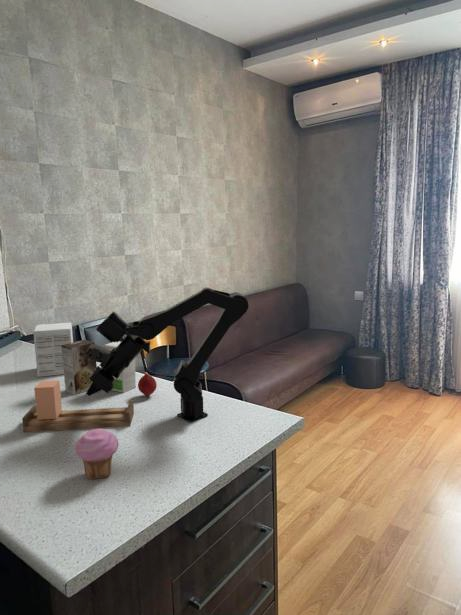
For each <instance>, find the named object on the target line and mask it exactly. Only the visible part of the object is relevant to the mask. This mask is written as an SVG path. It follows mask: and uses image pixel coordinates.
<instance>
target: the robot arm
mask: <svg viewBox="0 0 461 615" xmlns="http://www.w3.org/2000/svg"><path fill="white" fill-rule="evenodd" d="M208 304H209V305H213V306H215V307H218V308H221V310H220V313H219V315H218V317H217V319H216V321H215V322H214V324H213V326H212V327H211V329H209V331H208V333H207V334H206V336H205V337H204V339H203V340H202V341H201V343H200V344H199V346H198V348H197V349H196V350H195V352H194V353H193V355H192V356H191V357H190V359H188V360H187V361H185V360H184V359H181V361H180V363H179V365H178V366H177V368H175V369H174V372H173V373H174V375H173V388H174V390H175V391H176V393H178V394H180V412H179V413H177V414H176V416H177V417H178V418H181V419H183V420H186V421H188V422H190V423H192V422H195V421H197V420H200V419H202V418H205V417H207V416H208V415H209V414H208V412H205V411H204V397H203V388H202V382H200V381H199V377H200V374H201V372H202V369H203V367H204V366H205V364H206V363H207V362H208V360H209V359H210V357H211V355H212V354H213V352H214V351H215V350H216V349H217V347H218V345H219V344H220V343H221V341H222V339H223V338H224V337H225V335H226V334H227V332H228V331H229V329H230V328H231V327H232V326H233V325H234V324H236V323H237V322H238V321H239V320H240V319H242V317H243V316H244V315H245V314H246V313H247V312H248V309H249V301H248V299H247V298H246V296H244V295H243V294H242V293H240V292H237V291H234V292H231V293H228V292H225V291H220V290H217V289H213V288H211V287H203V288H202V289H201V290H200V291H198V292H195V294H192V295H191V296H189V297H186V299H183V300H182V301H180V302H178V303H176V304H174V305H173V306H171V307H169V308H167V309H165V310H162V311H158V312H154V313H151V314H148V315H145V316H143V317H142V318H140V320H135V321H131V322H128V323H127V322H126V321H125V320H123V318H121V316H119V315H118V314H117V313H116V311H112V312H111V313H110V314H109V315H108V317H106V318H105V319H104V320H102V322H101V323H100V324H99V325H98V326H97V327H96V329H95V330H96V331H97V332H98V334H100V335H101V336H103V337H104V338H105V339H107V341H109V343H112V342H114V343H115V342H118V341H120V340H121V339H122V340H121V341H120V342H121V343H120V344H119V345H118V346H117V347H116V348H113V349H112V350H111V351H110V350H108V349H106V348H104V347H103V346H101V345H98V344H91V345H90V346H89V347H88V350H87V352H86V355H85V358H86V359H91V360H93V361H96V363H100V364H99V365H98V366H97V368H96V371H94V372H93V374H92V375H91V377H90V380H91V381H92V382H93V383H92V384H91V386H90V387H89V389H88V391H85V392H86V393H85V394H86V396H88V397H90V396H91V395H94V394H96V393H99V392H102V391H103V392H105V393H106V394H109V393H110V392H111V391H113V390H112V389H113V387H114V385H115V379H114V377H115V378H116V379H117V378H118V377H119V376H120V374H121V372H122V371H123V370H124V369H125V368H127V367H128V366H129V365H130V363H131V362H132V360H133V359H134V358H135V359H136V358H137V356H138V355H139V354H140V353H141V351H145V352H146V353H147V354H150V352H151V340H153V339H155V338H156V337H158V336H159V335H160V334H161V333H163V331H165V330H166V329H167V328H168V327H170V325H171V324H173V323H175V322H176V321H178V320H180V319H182V318H184V317H186V316H187V315H189V314H191V313H192V312H195V311H197V310H199V309H200V308H202V307H204V306H206V305H208ZM123 337H124V338H123ZM113 376H114V377H113Z"/></svg>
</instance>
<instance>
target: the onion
mask: <svg viewBox="0 0 461 615" xmlns="http://www.w3.org/2000/svg"><path fill="white" fill-rule="evenodd" d="M137 383H138V384H137V388H138V391H139V392H140V393H142V394H143V395H144V396H145V397H149V396H151V395H152V394H153V393H155V391H156V390H157V386H158V385H157V381H156V380H155V378H154V377H153V376H152V375H150V374H149V373H148V372H145V371H144V375H142V377H141V378H139V381H138V382H137Z"/></svg>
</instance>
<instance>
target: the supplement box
mask: <svg viewBox="0 0 461 615" xmlns="http://www.w3.org/2000/svg"><path fill="white" fill-rule="evenodd" d="M72 324H73V323H72V322H60V323H59V322H58V323H44V324H36V326H35V328H34V330H33V332H32V333H33V342H34V353H35V361H36V362H35V363H36V364H35V366H36V375H37V377H38V378H39V377H50V376H61V375H64V368H63V357H62V346H61V345H64V344H68V343H73V342H74V338H73V337H74V336H73V326H72Z"/></svg>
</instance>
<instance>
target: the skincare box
mask: <svg viewBox="0 0 461 615" xmlns="http://www.w3.org/2000/svg"><path fill="white" fill-rule="evenodd" d="M121 342H122V341H120V340H119V341H118V342H115V343H114V342H112V343H111V342H108V343H106V344H104V347H103V348H106V349H108V350H110V351H111V350H112V349H113V348H116V347H117V346H118V345H119V344H120V343H121ZM113 377H114V376H113ZM114 379H115V385H114V387H113V389H112V390H111V391H114V392H118V393H119V392H120V393H125V394H126V393H127V392H128V391H131V390H133V389H134V388H135V389H136V384H137V381H136V357H135V358H134V359H133V360H132V362H131V363H130V365H129V366H128V367H127V368H125V369H124V370H123V371H122V372H121V374H120V376H119V377H118V378H117V379H116V378H115V377H114Z"/></svg>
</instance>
